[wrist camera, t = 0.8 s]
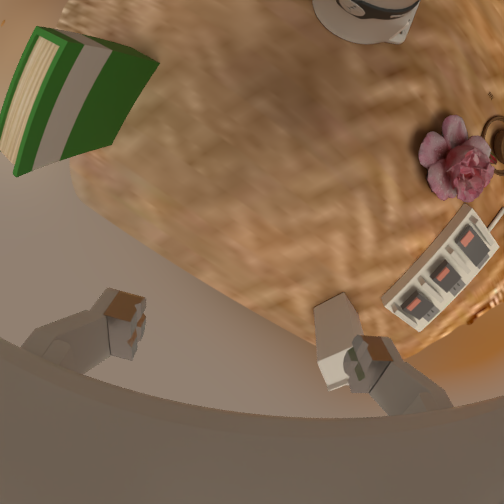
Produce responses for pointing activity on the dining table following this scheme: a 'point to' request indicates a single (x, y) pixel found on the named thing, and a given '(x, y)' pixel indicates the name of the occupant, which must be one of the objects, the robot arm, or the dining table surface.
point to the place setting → (497, 142)
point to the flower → (456, 161)
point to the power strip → (432, 258)
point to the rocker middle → (445, 276)
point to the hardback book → (68, 97)
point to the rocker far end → (417, 305)
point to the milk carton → (335, 337)
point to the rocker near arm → (472, 245)
